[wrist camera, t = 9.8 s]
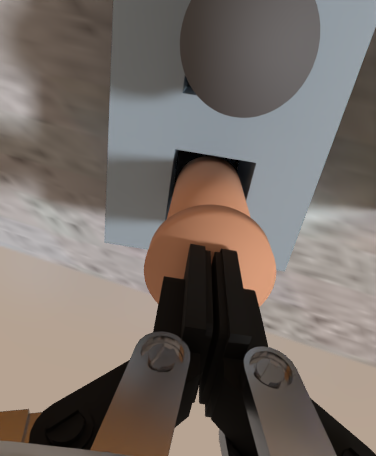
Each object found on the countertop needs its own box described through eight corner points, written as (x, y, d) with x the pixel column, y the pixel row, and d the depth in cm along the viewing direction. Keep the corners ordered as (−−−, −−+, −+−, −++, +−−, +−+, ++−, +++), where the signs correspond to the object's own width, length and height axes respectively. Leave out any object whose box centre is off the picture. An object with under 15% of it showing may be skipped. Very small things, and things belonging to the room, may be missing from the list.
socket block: (157, -265, 15) (129, -452, 9) (408, -213, 15) (520, -364, 10) (125, 205, 26) (104, 242, 21) (268, 228, 26) (284, 271, 21)
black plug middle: (197, -4, 18) (191, -58, 10) (281, 11, 18) (342, -29, 10) (185, 88, 20) (171, 106, 12) (259, 101, 20) (294, 127, 12)
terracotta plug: (174, 142, 18) (150, 205, 10) (256, 156, 18) (294, 229, 10) (164, 216, 20) (138, 314, 13) (237, 228, 21) (256, 332, 13)
